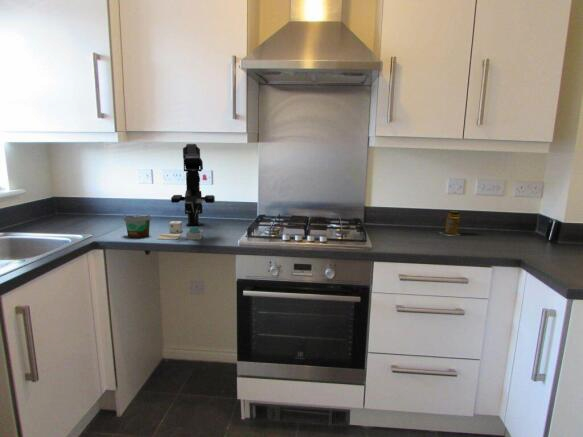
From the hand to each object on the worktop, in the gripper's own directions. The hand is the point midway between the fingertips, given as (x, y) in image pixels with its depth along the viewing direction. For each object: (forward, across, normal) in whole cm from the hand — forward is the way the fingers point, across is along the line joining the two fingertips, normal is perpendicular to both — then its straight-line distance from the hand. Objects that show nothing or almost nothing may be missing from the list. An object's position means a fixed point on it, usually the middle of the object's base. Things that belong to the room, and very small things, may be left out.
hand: (193, 217), depth 171 cm
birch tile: (+10, -12, +2) cm, 15 cm away
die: (+10, -10, +11) cm, 18 cm away
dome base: (+10, 0, 0) cm, 10 cm away
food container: (+10, -26, +2) cm, 28 cm away
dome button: (+9, 0, 0) cm, 9 cm away
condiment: (+10, +130, +7) cm, 130 cm away
